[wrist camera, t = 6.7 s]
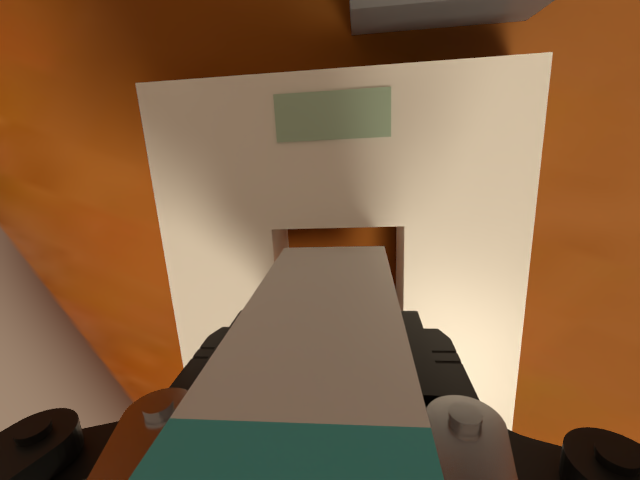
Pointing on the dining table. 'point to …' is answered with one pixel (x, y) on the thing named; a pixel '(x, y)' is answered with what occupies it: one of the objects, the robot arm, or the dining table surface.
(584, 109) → the dining table surface
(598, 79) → the dining table surface
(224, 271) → the port plate
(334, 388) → the plug
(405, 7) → the holster
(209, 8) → the dining table surface
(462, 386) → the robot arm
